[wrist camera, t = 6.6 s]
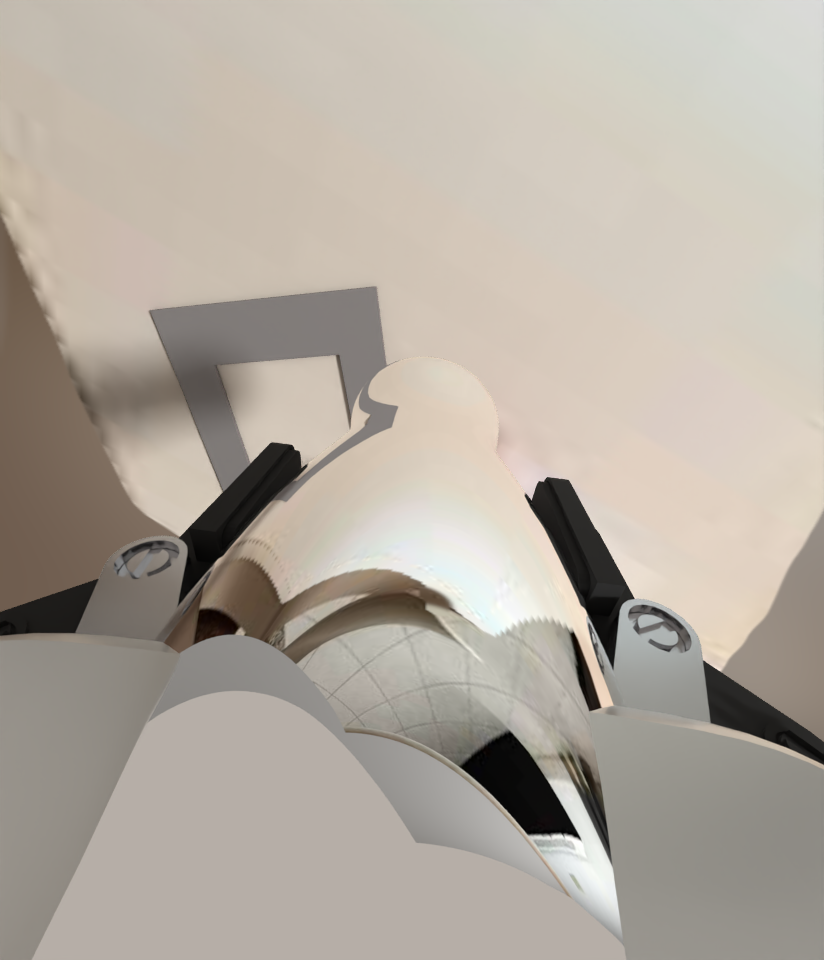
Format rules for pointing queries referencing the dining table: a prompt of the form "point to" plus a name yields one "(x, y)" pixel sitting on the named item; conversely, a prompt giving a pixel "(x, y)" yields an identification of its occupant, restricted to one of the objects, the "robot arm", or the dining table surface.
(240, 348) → the letter o mat
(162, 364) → the dining table surface
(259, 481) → the robot arm
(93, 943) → the beer glass
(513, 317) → the dining table surface
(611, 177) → the dining table surface
